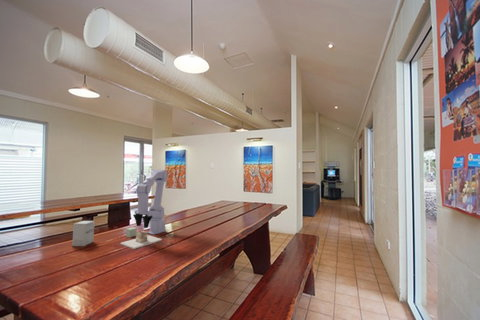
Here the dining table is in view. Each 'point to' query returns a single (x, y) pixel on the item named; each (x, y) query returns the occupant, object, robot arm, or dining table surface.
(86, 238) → the supplement box
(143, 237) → the maple block
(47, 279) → the dining table surface
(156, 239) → the white flat slab
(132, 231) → the sage block
